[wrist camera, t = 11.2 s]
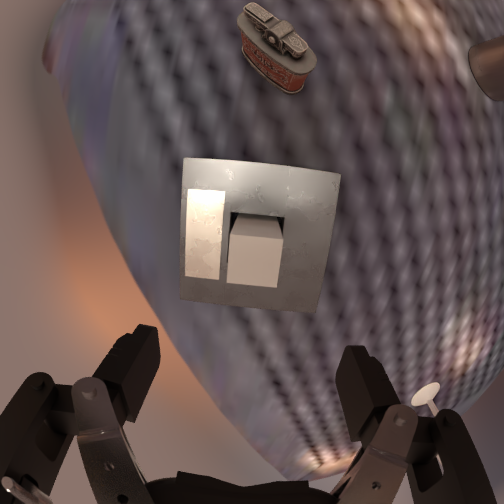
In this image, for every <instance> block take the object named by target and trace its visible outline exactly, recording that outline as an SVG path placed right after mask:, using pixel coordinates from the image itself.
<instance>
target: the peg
mask: <svg viewBox="0 0 504 504" xmlns="http://www.w3.org/2000/svg"><path fill="white" fill-rule="evenodd" d="M282 246H283V236H282V233H281V230H280V226H279V223H278V220H277V216H268V215H258V214H248V213H239V214H238V216H237V219H236V221H235V223H234V226H233V228H232V231H231V233H230V241H229V255H228V269H227V283H234V284H244V285H254V286H264V287H275V288H277V282H278V275H279V268H280V261H281V254H282Z"/></svg>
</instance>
